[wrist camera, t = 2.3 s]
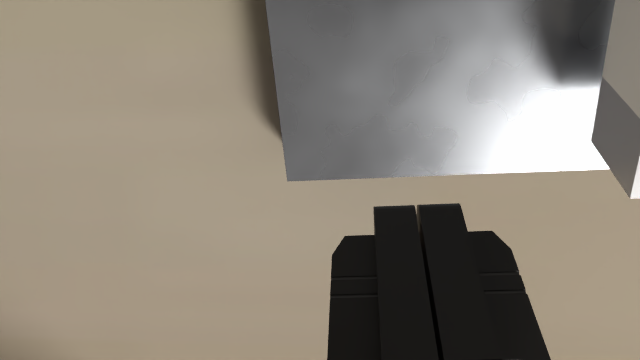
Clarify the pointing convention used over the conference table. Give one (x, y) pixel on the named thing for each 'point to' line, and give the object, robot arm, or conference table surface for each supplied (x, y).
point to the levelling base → (437, 85)
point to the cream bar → (621, 99)
